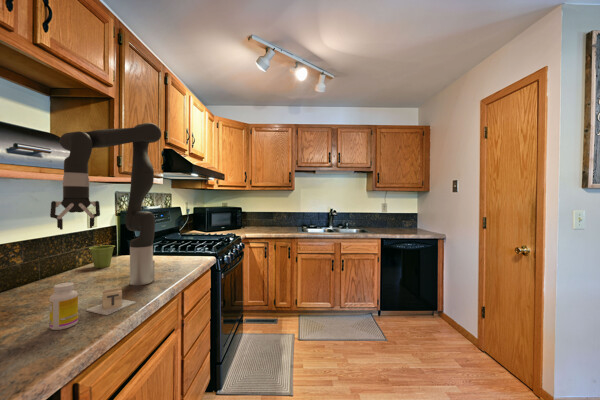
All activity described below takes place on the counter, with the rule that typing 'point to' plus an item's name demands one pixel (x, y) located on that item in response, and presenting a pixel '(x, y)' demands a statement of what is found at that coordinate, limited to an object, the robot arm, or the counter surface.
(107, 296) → the tan cube block
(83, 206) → the robot arm
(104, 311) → the mat
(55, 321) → the supplement bottle
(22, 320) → the counter surface
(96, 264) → the plant pot
